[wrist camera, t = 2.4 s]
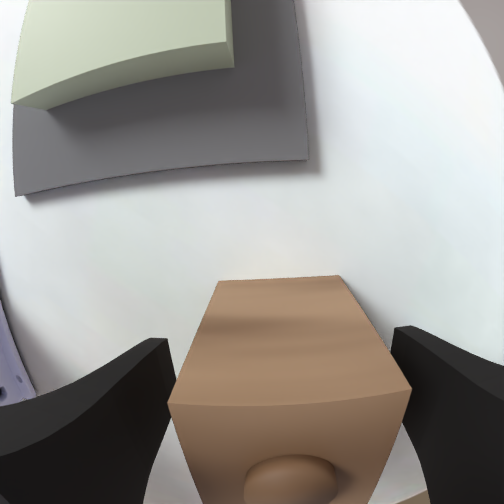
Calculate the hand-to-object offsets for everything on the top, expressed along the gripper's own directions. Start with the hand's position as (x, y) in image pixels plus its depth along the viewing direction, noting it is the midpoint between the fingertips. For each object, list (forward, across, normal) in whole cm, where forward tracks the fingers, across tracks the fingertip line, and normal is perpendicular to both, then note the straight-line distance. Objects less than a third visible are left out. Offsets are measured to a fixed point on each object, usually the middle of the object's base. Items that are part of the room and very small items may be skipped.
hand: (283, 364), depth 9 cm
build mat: (+2, +4, -13) cm, 14 cm away
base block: (+1, +4, -13) cm, 14 cm away
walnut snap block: (+2, 0, 0) cm, 2 cm away
